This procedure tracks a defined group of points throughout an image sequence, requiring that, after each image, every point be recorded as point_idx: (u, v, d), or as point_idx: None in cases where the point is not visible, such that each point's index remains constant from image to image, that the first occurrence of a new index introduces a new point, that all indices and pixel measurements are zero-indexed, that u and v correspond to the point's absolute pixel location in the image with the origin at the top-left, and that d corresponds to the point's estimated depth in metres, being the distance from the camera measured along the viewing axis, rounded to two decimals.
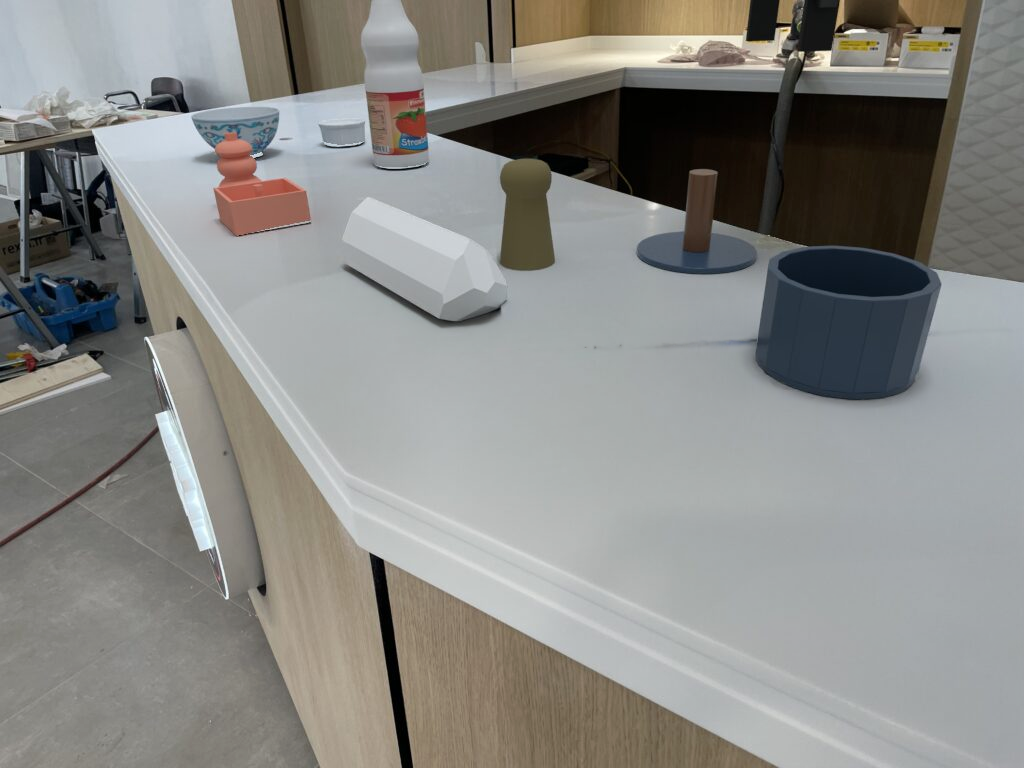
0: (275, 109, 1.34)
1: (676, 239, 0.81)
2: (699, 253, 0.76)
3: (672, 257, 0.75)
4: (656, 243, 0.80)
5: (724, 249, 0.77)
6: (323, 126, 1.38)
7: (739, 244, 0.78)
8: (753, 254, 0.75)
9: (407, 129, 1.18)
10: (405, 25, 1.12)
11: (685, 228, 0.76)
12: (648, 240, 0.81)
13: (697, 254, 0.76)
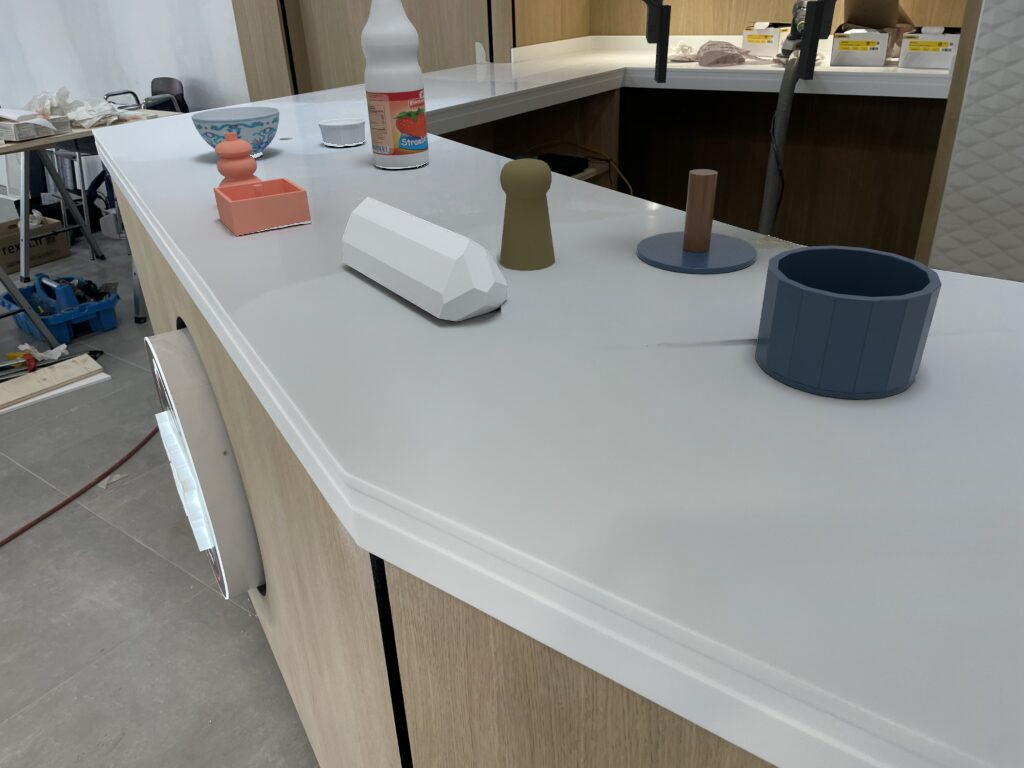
0: (275, 109, 1.34)
1: (676, 239, 0.81)
2: (699, 253, 0.76)
3: (672, 257, 0.75)
4: (656, 243, 0.80)
5: (724, 249, 0.77)
6: (323, 126, 1.38)
7: (739, 244, 0.78)
8: (753, 254, 0.75)
9: (407, 129, 1.18)
10: (405, 25, 1.12)
11: (685, 228, 0.76)
12: (648, 240, 0.81)
13: (697, 254, 0.76)
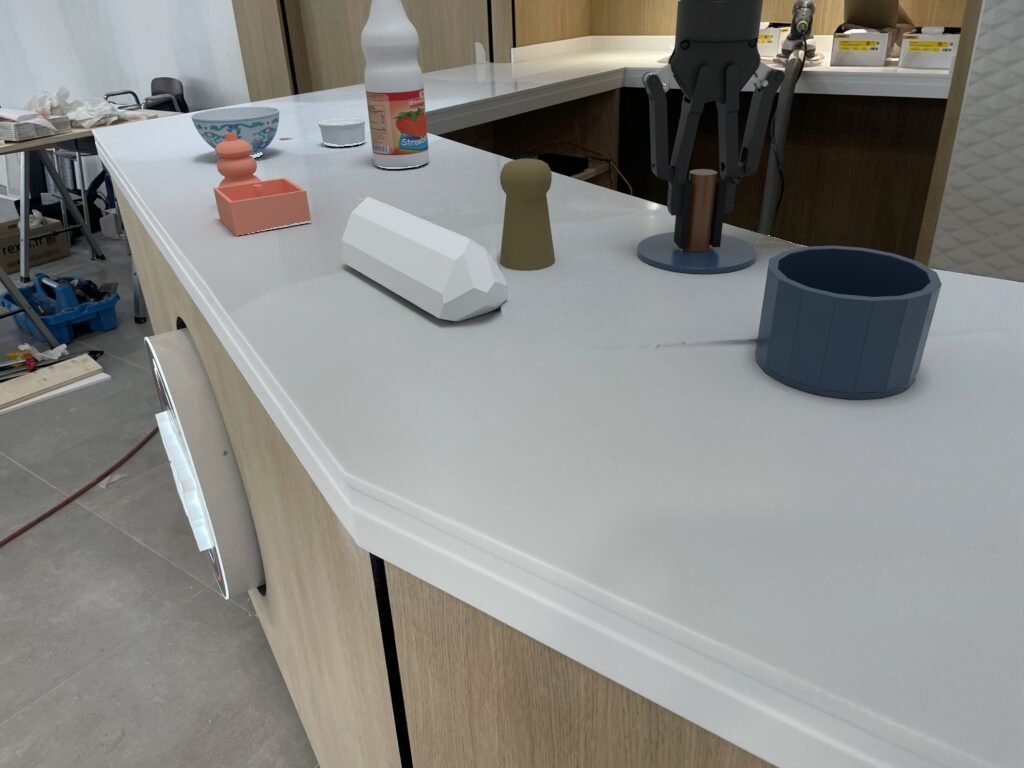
0: (275, 109, 1.34)
1: None
2: (699, 253, 0.76)
3: (672, 257, 0.75)
4: (656, 243, 0.80)
5: (724, 249, 0.77)
6: (323, 126, 1.38)
7: (739, 244, 0.78)
8: (753, 254, 0.75)
9: (407, 129, 1.18)
10: (405, 25, 1.12)
11: None
12: (648, 240, 0.81)
13: (697, 254, 0.76)
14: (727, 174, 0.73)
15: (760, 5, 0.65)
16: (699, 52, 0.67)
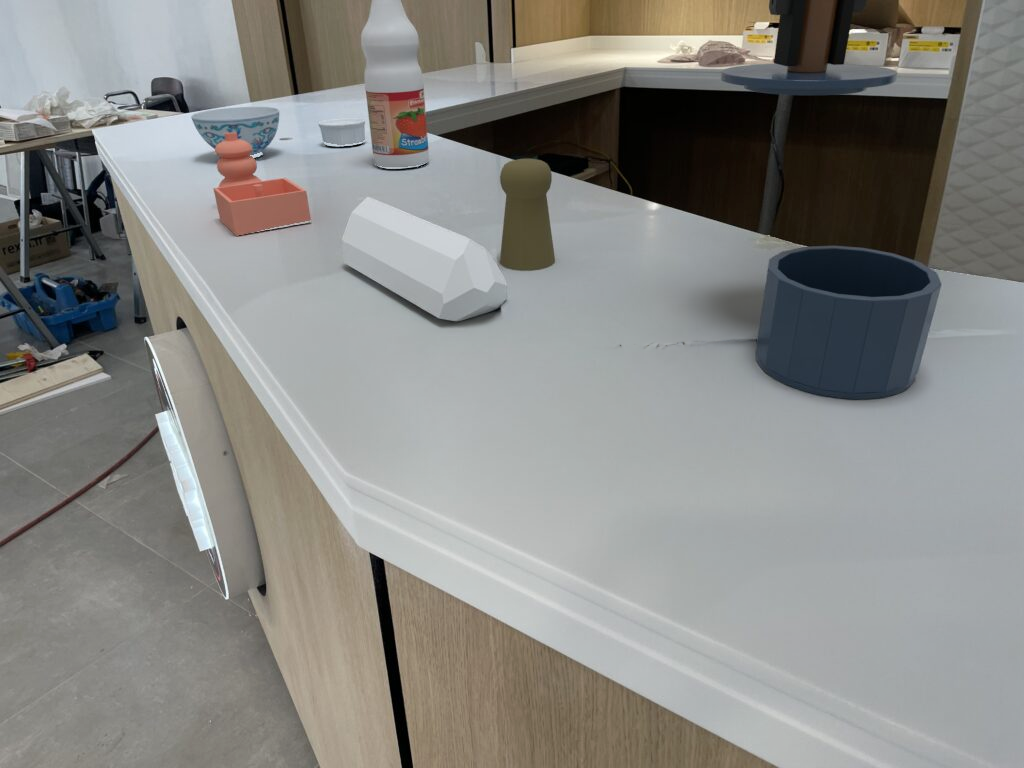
0: (275, 109, 1.34)
1: (774, 67, 0.58)
2: (814, 73, 0.54)
3: (777, 75, 0.53)
4: (747, 69, 0.57)
5: (847, 70, 0.55)
6: (323, 126, 1.38)
7: (866, 67, 0.56)
8: (893, 72, 0.53)
9: (407, 129, 1.18)
10: (405, 25, 1.12)
11: None
12: (734, 68, 0.58)
13: (811, 73, 0.53)
14: None
15: None
16: None
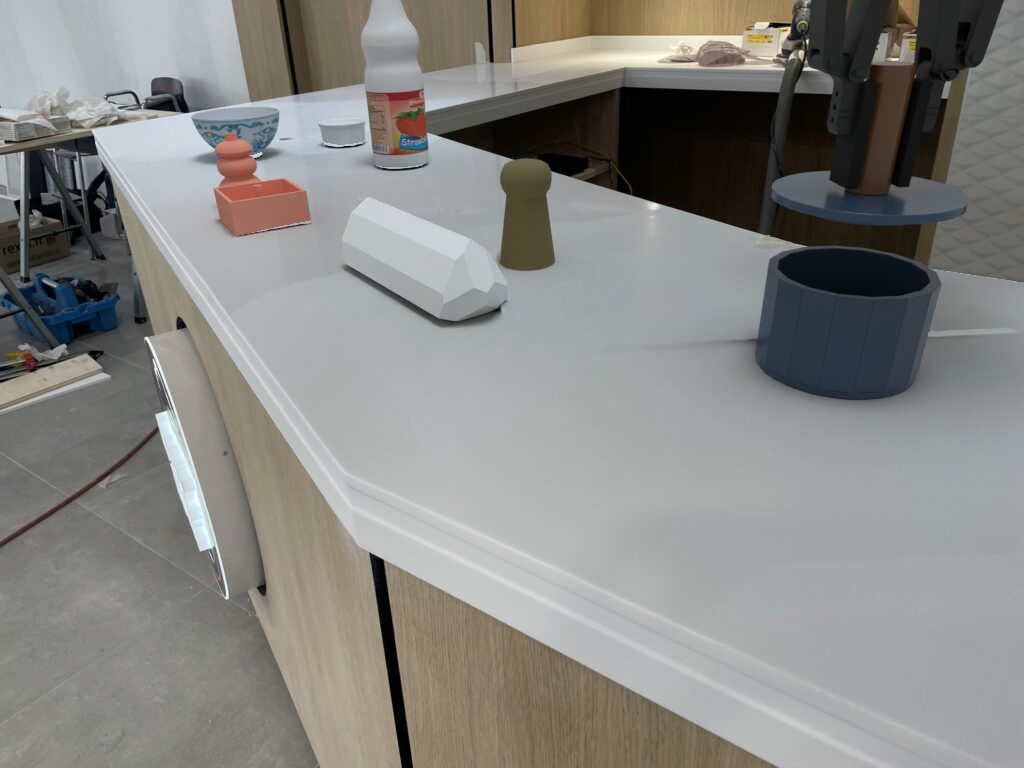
0: (275, 109, 1.34)
1: (827, 179, 0.53)
2: (877, 196, 0.49)
3: (837, 201, 0.48)
4: (799, 184, 0.52)
5: (912, 191, 0.49)
6: (323, 126, 1.38)
7: (930, 185, 0.51)
8: (965, 197, 0.48)
9: (407, 129, 1.18)
10: (405, 25, 1.12)
11: None
12: (784, 180, 0.53)
13: (874, 197, 0.48)
14: (935, 65, 0.45)
15: None
16: None
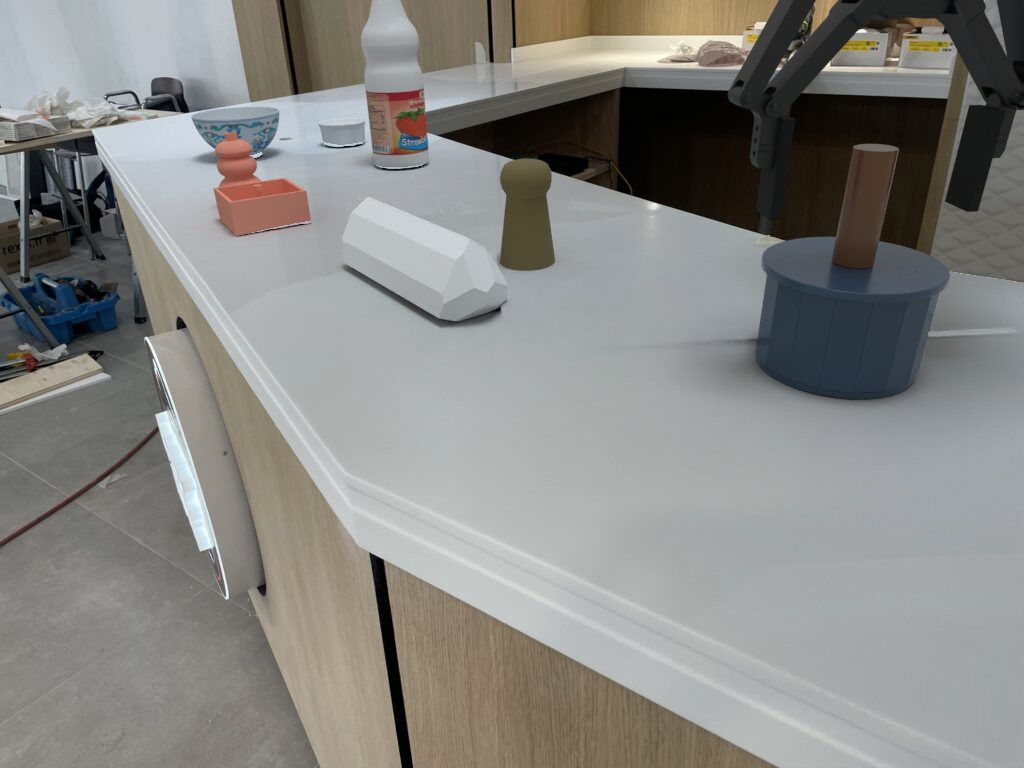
0: (275, 109, 1.34)
1: (815, 248, 0.55)
2: (861, 270, 0.51)
3: (824, 276, 0.50)
4: (789, 254, 0.54)
5: (896, 264, 0.52)
6: (323, 126, 1.38)
7: (914, 256, 0.53)
8: (946, 272, 0.50)
9: (407, 129, 1.18)
10: (405, 25, 1.12)
11: (840, 233, 0.51)
12: (774, 249, 0.55)
13: (859, 271, 0.51)
14: (1005, 100, 0.46)
15: None
16: None
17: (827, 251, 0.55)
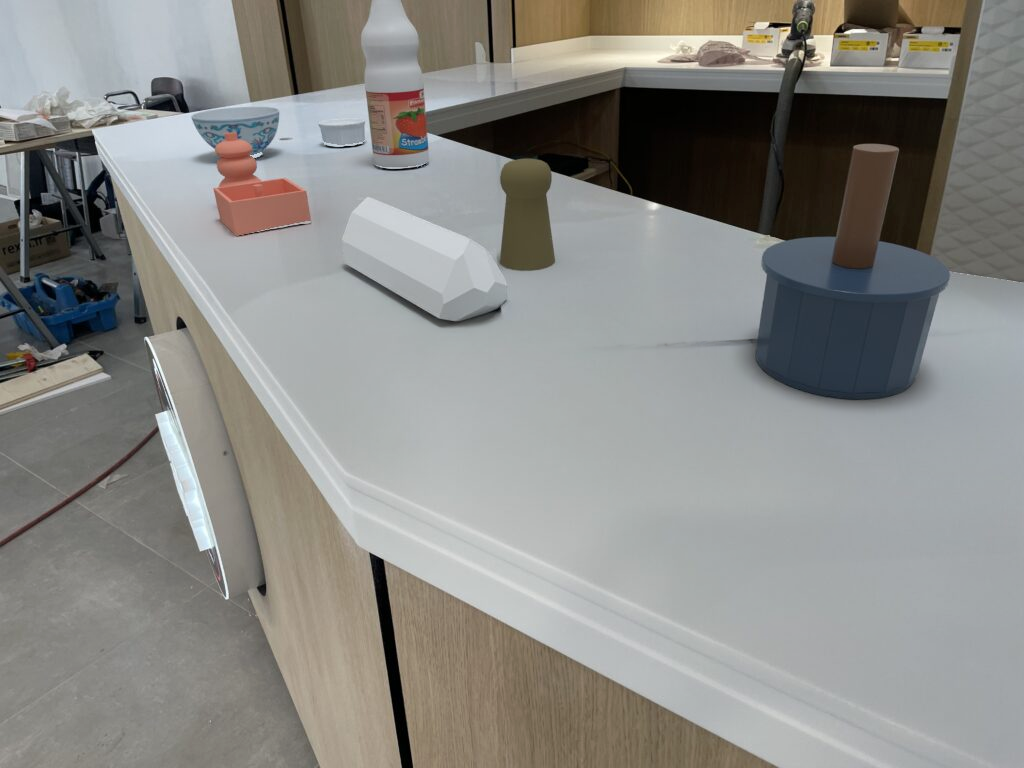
0: (275, 109, 1.34)
1: (815, 248, 0.55)
2: (861, 270, 0.51)
3: (824, 276, 0.50)
4: (789, 254, 0.54)
5: (896, 264, 0.52)
6: (323, 126, 1.38)
7: (914, 256, 0.53)
8: (946, 272, 0.50)
9: (407, 129, 1.18)
10: (405, 25, 1.12)
11: (840, 233, 0.51)
12: (774, 249, 0.55)
13: (859, 271, 0.51)
14: None
15: None
16: None
17: (827, 251, 0.55)
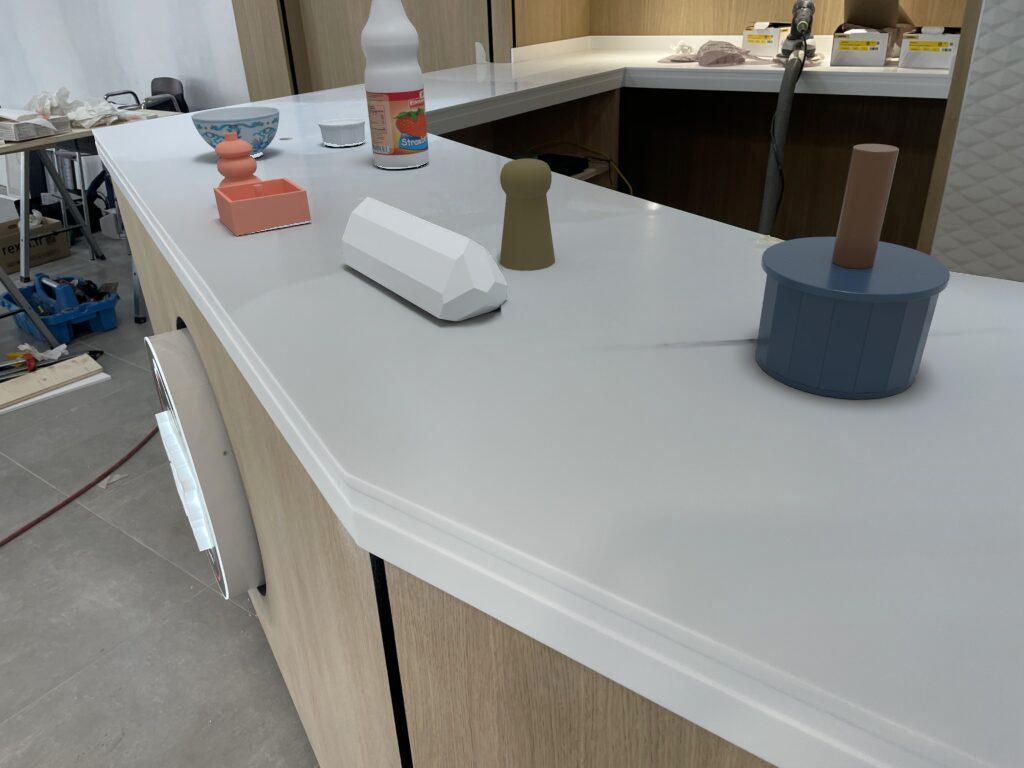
0: (275, 109, 1.34)
1: (815, 248, 0.55)
2: (861, 270, 0.51)
3: (824, 276, 0.50)
4: (789, 254, 0.54)
5: (896, 264, 0.52)
6: (323, 126, 1.38)
7: (914, 256, 0.53)
8: (946, 272, 0.50)
9: (407, 129, 1.18)
10: (405, 25, 1.12)
11: (840, 233, 0.51)
12: (774, 249, 0.55)
13: (859, 271, 0.51)
14: None
15: None
16: None
17: (827, 251, 0.55)
